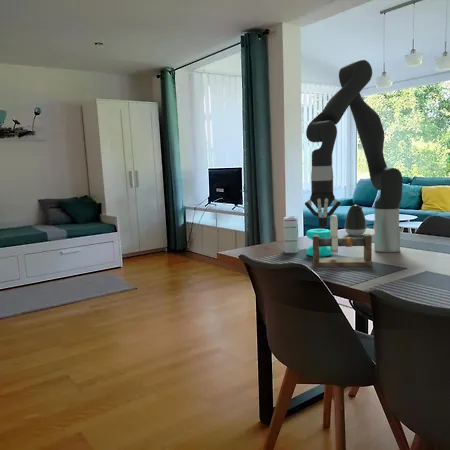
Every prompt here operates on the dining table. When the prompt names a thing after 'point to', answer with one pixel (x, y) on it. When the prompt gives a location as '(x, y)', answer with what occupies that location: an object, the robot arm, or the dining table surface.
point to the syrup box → (291, 234)
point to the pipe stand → (343, 260)
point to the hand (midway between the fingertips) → (322, 227)
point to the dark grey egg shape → (355, 221)
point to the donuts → (322, 234)
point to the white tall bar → (334, 234)
